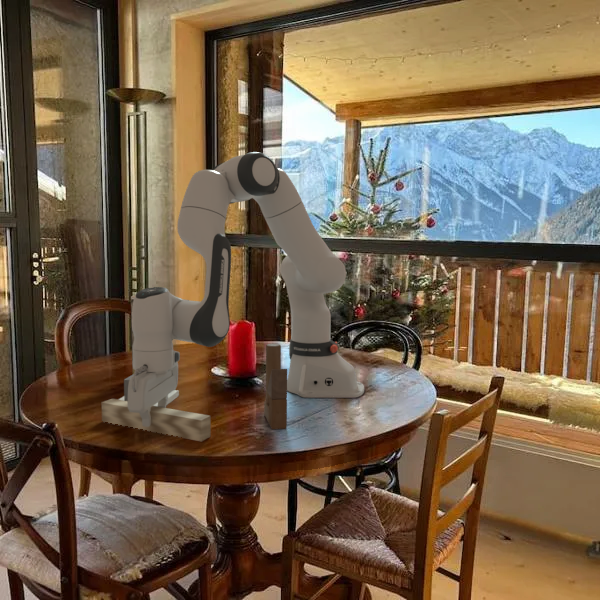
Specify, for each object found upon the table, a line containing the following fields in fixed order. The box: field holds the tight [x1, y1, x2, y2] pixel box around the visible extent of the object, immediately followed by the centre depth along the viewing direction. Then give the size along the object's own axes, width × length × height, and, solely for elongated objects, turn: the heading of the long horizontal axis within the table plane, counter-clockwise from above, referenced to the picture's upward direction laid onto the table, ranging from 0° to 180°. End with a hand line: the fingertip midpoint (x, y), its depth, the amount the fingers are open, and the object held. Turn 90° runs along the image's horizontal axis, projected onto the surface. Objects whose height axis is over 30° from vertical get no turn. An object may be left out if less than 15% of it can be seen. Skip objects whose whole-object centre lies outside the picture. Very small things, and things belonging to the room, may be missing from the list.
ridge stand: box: [118, 373, 180, 407], centre depth 153 cm, size 12×18×8 cm, turn 171°
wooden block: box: [263, 343, 288, 431], centre depth 140 cm, size 4×11×18 cm, turn 12°
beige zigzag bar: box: [101, 398, 212, 443], centre depth 135 cm, size 28×4×5 cm, turn 65°
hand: (154, 419), depth 135 cm, fingers open, 6 cm apart
